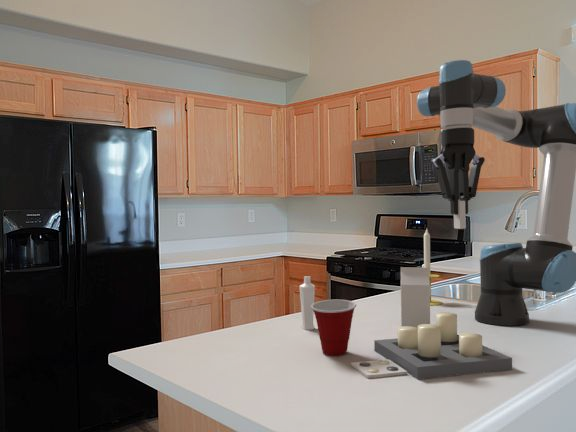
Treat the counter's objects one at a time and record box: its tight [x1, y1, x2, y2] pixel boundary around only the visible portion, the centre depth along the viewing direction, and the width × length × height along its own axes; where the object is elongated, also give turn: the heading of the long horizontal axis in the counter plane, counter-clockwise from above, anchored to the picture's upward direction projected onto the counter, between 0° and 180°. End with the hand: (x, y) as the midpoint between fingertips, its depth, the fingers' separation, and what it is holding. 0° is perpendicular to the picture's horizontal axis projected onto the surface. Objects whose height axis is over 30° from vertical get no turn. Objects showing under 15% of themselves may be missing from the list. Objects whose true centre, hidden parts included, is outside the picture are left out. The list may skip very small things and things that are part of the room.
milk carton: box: [400, 266, 431, 328], centre depth 136 cm, size 7×7×19 cm
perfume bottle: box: [298, 275, 316, 331], centre depth 151 cm, size 5×4×15 cm
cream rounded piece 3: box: [397, 326, 418, 349], centre depth 123 cm, size 5×5×6 cm
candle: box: [423, 228, 443, 307], centre depth 186 cm, size 10×10×27 cm
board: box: [373, 334, 513, 380], centre depth 119 cm, size 22×22×2 cm
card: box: [351, 359, 408, 379], centre depth 112 cm, size 9×9×1 cm
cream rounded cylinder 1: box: [435, 311, 458, 342], centre depth 125 cm, size 5×5×6 cm
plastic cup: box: [311, 298, 357, 357], centre depth 126 cm, size 11×11×12 cm
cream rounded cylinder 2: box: [458, 332, 483, 358], centre depth 115 cm, size 5×5×6 cm
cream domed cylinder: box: [418, 323, 441, 357], centre depth 113 cm, size 5×5×6 cm
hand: (459, 228), depth 124 cm, fingers closed
